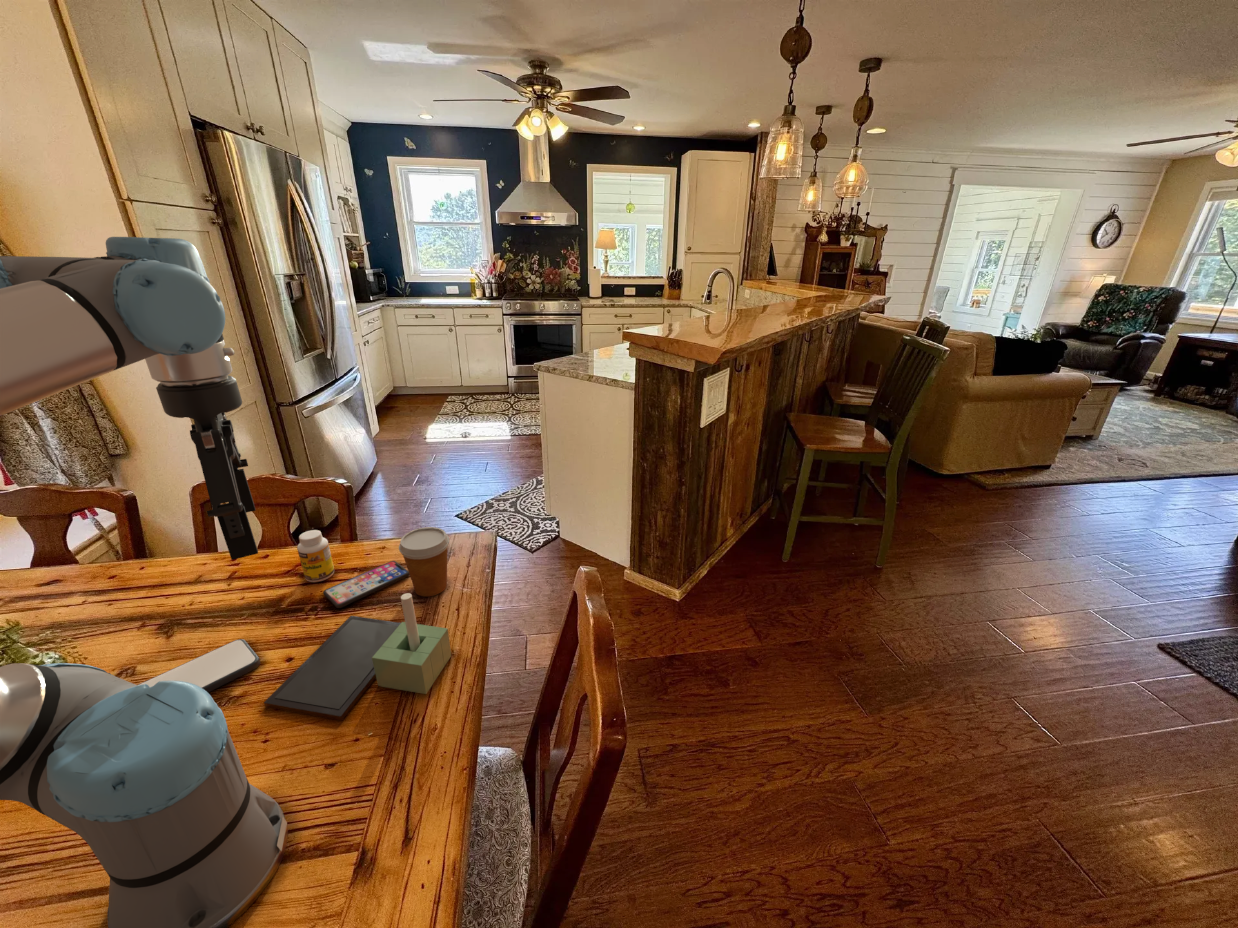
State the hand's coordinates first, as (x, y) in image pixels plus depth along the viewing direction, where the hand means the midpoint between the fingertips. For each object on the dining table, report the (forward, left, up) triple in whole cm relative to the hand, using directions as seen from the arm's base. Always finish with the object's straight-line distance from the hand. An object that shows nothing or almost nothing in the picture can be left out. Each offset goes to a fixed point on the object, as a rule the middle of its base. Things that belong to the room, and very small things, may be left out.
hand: (244, 532), depth 67 cm
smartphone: (+26, +5, -29) cm, 39 cm away
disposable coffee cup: (+28, -8, -29) cm, 41 cm away
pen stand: (+7, -17, -29) cm, 34 cm away
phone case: (-2, +16, -29) cm, 33 cm away
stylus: (+7, -17, -29) cm, 34 cm away
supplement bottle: (+27, +17, -29) cm, 43 cm away
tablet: (+6, -5, -29) cm, 30 cm away
